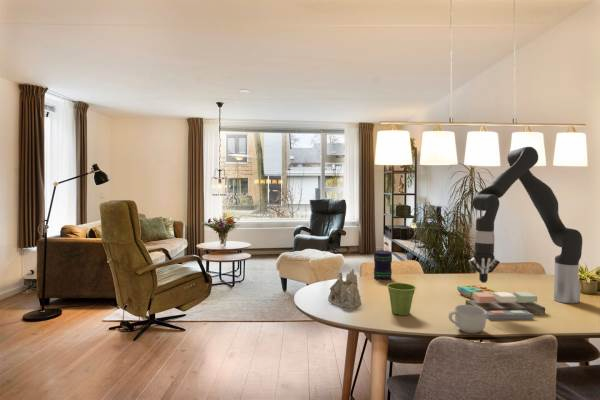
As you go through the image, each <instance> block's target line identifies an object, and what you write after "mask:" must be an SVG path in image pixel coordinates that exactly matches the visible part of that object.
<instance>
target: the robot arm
mask: <svg viewBox="0 0 600 400" xmlns="http://www.w3.org/2000/svg"><path fill="white" fill-rule="evenodd" d="M506 158H507V163H508V165H509V167H508V168H506V169H505V170H504V171H502V172H500V174H498V175H497V176H495V178H494V179H493V180H492V181H491V183H489V184H488V186H486V187H484V188H483V189H481V190H479V191H478V192H477V193H476V194H475V195H474V197H473V198H472V201H471V204H472V207H473V209H474V210H476V211H480V212H481V211H482V212H484V211H485V212H484V215H483V216H477V218H476V220H475V233H474V254H473V257H471V259H468V261H467V262H468V263H469V265H470V266H471V267H472V268H473V270H474V271H475V272H477V273H478V274H479V276H478V277H479V281H480V282H481V283H482V284H483V283H486V284H487V282H488V278H489V277H488V275H489V274H490V273H493V272H494V270H496V268H497V267H498V265H499V264H500V260H498V259H496V257H495V220H496V217H497V214H498V212H499V209H500V200H499V199H501V198H502V197H504V195H505V194H506V193H507V191H508V190H509V189H510V188H511V187H512V186H513V184H514V183H515V182H516V181H517V180H519V181H520V183H521V185H522V186H523V188H524V189H525V191H526V193H527V195H528V196H529V199H530V200H531V202H532V204H533V206H534V207H535V209H536V210H537V212H538V214H539V216H540V218H541V220H542V221H543V223H544V226H545V227H546V229H547V232H548V234H549V237H550V239H551V241H552V243H553V244H554V245H555V246H556V247H559V248H561V251H560V252H561V253H560V254H559V255H555V257H554V272H553V273H554V279H553V281H554V285H553V300H554V301H556V302H559V303H563V304H577V303H581V281H580V280H579V272H580V271H579V265H580V260H581V258H582V252H583V251H582V250H583V236H582V233H581V232H580V231H579V230H577V229H575V228H568V227H566V226H565V224H564V223H563V221H562V219H561V218H560V214H559V201H558V199H557V196H556V195H555V193H554V191H553V190H552V188H551V187H550V186H549V185H547V184H546V183H545V182H543V181H542V180H541V179H539V178H538V177H536V176H535V175H534V174H533V173H532V171H530V169H532V168H533V167H534V166H535V165H536V164H537V163H538V161H539V153H538V151H537V150H536V148H535V147H532V146H524V147H520V148H517V149H514V150H511V151H509V153H507V157H506Z"/></svg>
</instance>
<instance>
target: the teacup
mask: <svg viewBox="0 0 600 400" xmlns="http://www.w3.org/2000/svg"><path fill="white" fill-rule="evenodd" d="M486 314H487V312H486V311H485V310H484V309H482V308H480V307H476V306H471V305H465V304H458V305H456V306H455V307H454V310H451V311H450V312H449V313H448V320H449V321H450V322H451V323H452V324H454V325H455V327H458V328H459V330H460V331H462V332H463V333H466V334H468V333H469V334H478V333H480V332H482V331H484V329H485V328H486V322H487V319H486ZM453 315H454V319H453Z"/></svg>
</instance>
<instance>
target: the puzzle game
mask: <svg viewBox="0 0 600 400" xmlns="http://www.w3.org/2000/svg"><path fill="white" fill-rule="evenodd" d="M456 289H457V291H458V292H459V294H460V295H462V296H464V297H466V298H469V299H470V300H475V299H473V298H472V294H473V293H477V292H488V293H489V294H491V295H493V292H497V291H496V290H494V289H491V288H488V287H487V286H482V285H480V284H475V285H461V286H457V287H456ZM495 300H496V299H495Z"/></svg>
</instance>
